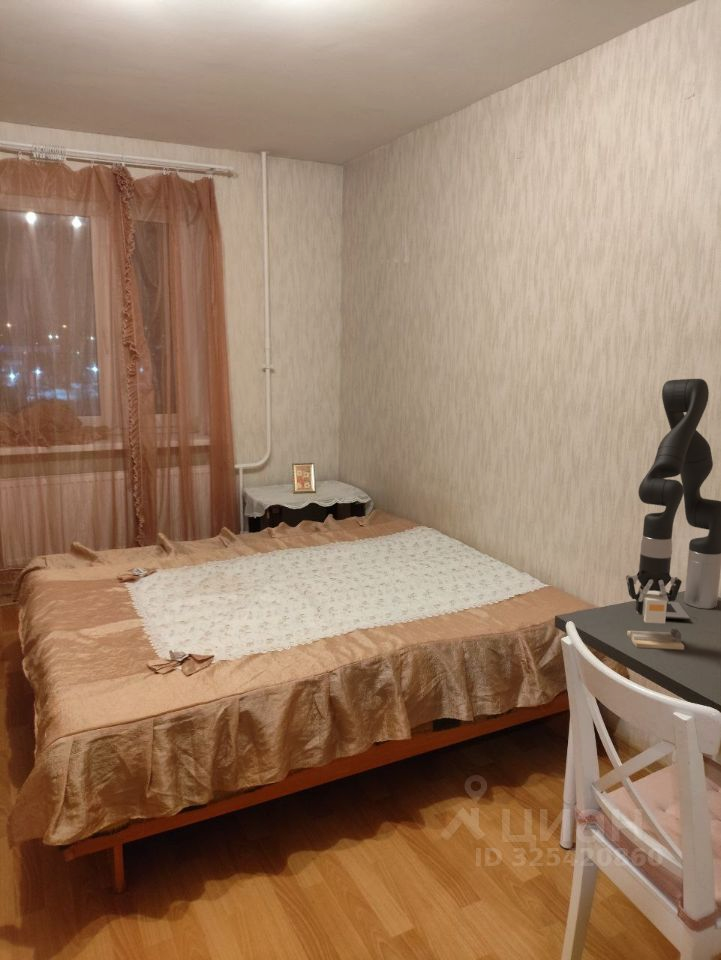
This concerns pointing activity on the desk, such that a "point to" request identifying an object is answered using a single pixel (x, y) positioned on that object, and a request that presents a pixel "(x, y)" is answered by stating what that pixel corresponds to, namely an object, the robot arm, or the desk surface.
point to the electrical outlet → (676, 611)
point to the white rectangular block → (654, 607)
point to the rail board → (657, 639)
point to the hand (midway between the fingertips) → (650, 614)
